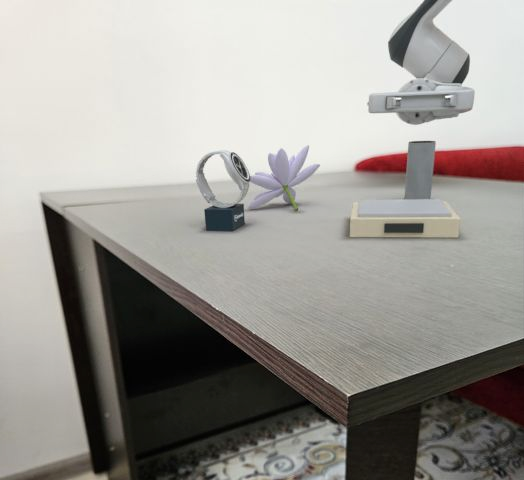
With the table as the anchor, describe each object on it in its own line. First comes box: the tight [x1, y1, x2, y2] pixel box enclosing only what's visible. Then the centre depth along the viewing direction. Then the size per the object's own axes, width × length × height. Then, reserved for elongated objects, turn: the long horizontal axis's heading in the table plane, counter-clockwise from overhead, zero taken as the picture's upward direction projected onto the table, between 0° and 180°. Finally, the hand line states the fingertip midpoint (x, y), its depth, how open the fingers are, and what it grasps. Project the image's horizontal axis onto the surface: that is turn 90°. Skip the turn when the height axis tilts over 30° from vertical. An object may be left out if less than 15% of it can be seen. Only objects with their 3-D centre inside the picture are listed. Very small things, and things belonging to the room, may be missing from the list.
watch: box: [195, 150, 251, 232], centre depth 78 cm, size 6×8×11 cm
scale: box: [349, 198, 461, 239], centre depth 75 cm, size 14×14×3 cm
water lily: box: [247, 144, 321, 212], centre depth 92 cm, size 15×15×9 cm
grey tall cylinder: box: [403, 140, 437, 200], centre depth 92 cm, size 4×4×10 cm
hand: (422, 101), depth 98 cm, fingers open, 8 cm apart
